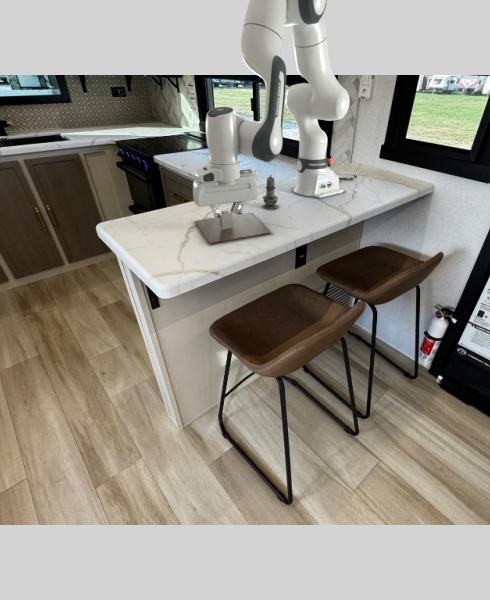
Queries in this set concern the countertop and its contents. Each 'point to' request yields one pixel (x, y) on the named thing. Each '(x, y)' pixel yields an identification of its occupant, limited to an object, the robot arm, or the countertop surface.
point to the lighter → (228, 215)
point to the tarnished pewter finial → (270, 195)
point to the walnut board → (231, 229)
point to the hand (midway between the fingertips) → (228, 215)
